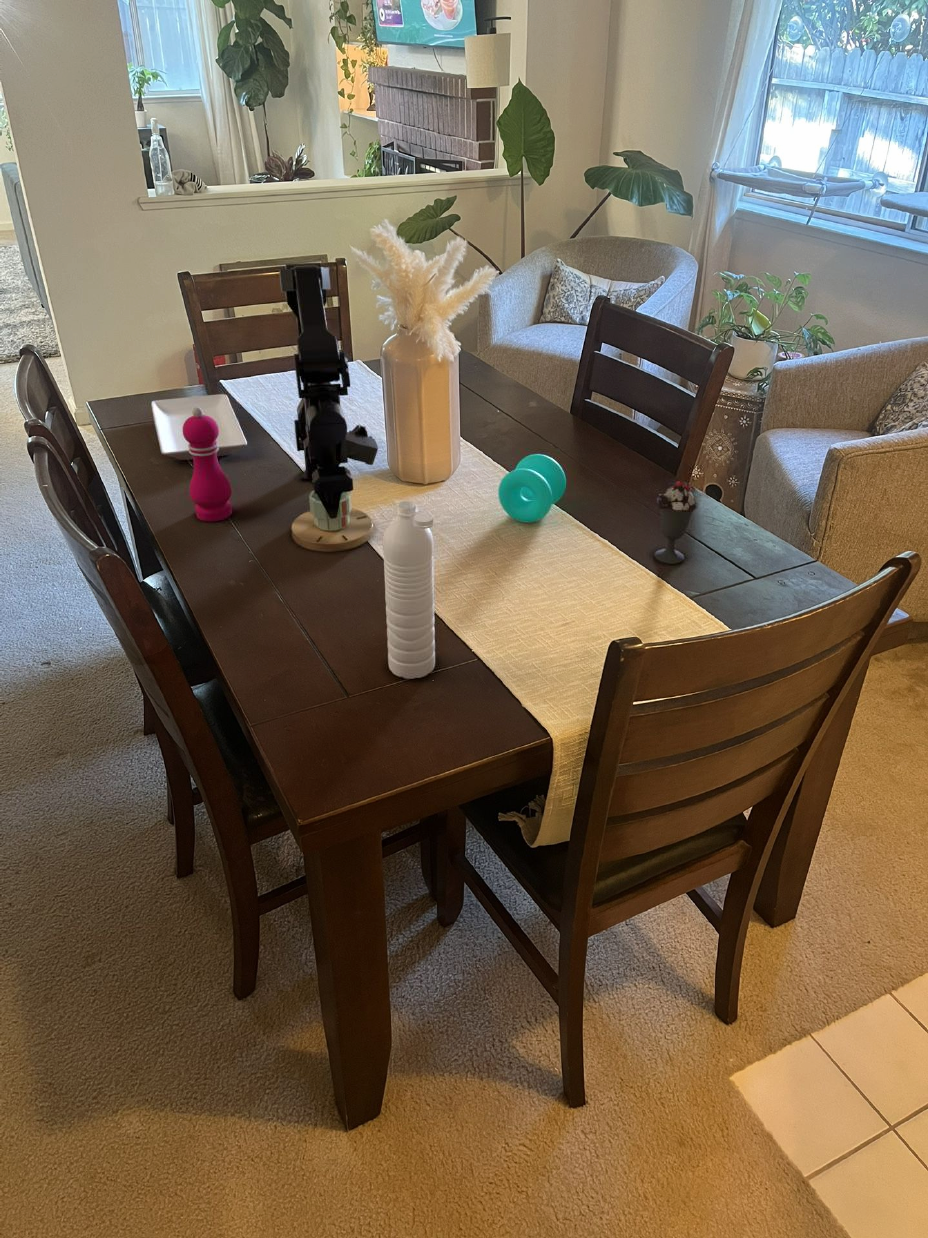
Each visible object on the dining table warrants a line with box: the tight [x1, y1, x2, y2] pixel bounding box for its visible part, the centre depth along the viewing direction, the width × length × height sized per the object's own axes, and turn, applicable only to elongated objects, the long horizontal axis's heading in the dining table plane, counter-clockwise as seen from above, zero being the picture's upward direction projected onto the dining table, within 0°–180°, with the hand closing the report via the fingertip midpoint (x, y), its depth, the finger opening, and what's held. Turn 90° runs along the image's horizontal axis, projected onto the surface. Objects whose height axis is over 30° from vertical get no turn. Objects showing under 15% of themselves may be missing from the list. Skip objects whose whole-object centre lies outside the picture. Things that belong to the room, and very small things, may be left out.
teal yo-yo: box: [497, 453, 567, 524], centre depth 164 cm, size 10×10×10 cm
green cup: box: [308, 490, 353, 531], centre depth 158 cm, size 7×7×6 cm
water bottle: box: [382, 500, 436, 680], centre depth 120 cm, size 9×6×25 cm
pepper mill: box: [183, 407, 233, 523], centre depth 160 cm, size 7×7×20 cm
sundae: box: [653, 471, 699, 565], centre depth 150 cm, size 7×7×15 cm
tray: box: [150, 393, 248, 461], centre depth 195 cm, size 17×31×4 cm, turn 20°
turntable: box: [291, 507, 374, 553], centre depth 160 cm, size 14×14×2 cm
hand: (331, 508), depth 158 cm, fingers closed on green cup, 7 cm apart
